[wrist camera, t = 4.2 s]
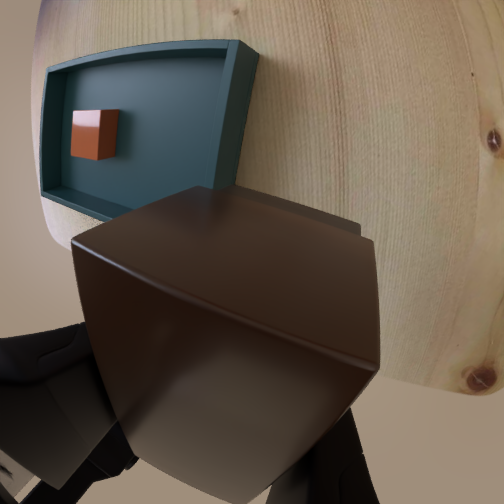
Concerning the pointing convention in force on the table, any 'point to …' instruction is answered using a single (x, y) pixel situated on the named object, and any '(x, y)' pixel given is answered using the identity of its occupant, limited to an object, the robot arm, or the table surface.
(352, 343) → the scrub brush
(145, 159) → the tray
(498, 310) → the table surface
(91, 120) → the clay crumb
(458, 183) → the table surface
